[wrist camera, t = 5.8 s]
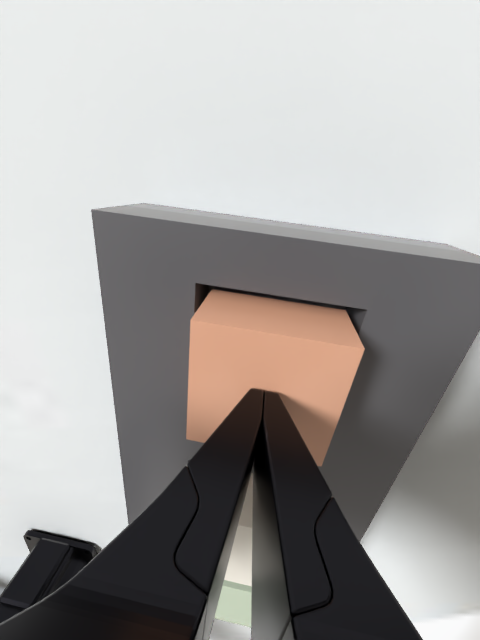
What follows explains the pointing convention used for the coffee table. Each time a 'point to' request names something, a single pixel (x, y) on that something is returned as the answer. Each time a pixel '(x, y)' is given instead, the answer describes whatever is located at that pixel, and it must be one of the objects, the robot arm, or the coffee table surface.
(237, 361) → the terracotta keycap
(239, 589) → the sage keycap
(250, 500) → the ivory keycap
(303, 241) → the grey flat rectangular block
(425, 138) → the coffee table surface
